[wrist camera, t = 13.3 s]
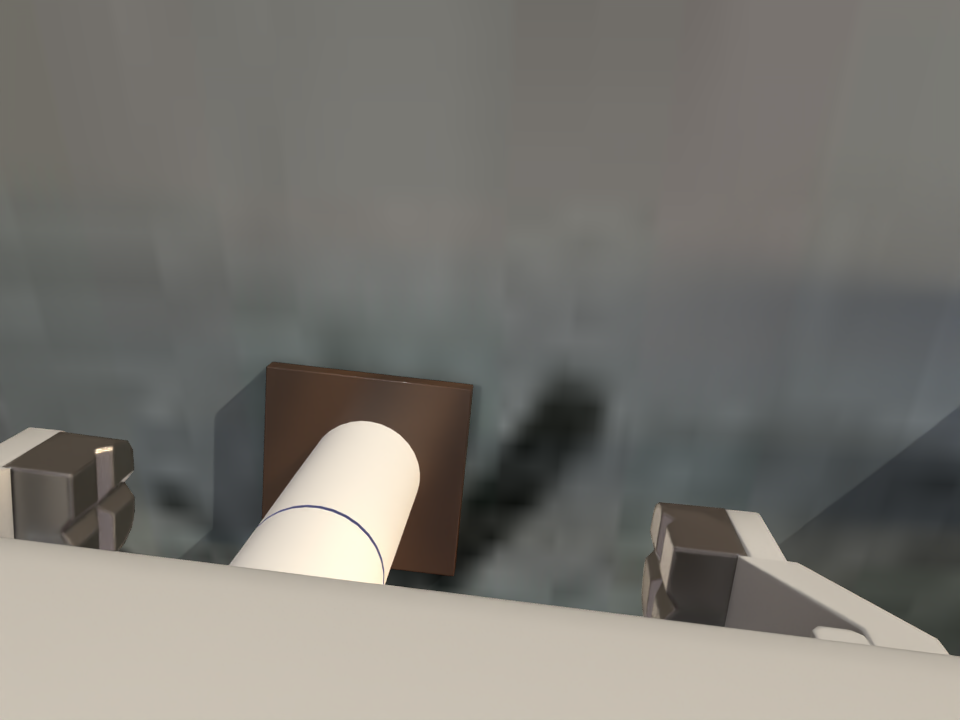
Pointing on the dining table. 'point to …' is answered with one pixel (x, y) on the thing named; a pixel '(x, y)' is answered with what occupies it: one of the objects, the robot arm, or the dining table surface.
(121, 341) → the dining table surface
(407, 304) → the dining table surface
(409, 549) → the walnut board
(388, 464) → the cylindrical container
